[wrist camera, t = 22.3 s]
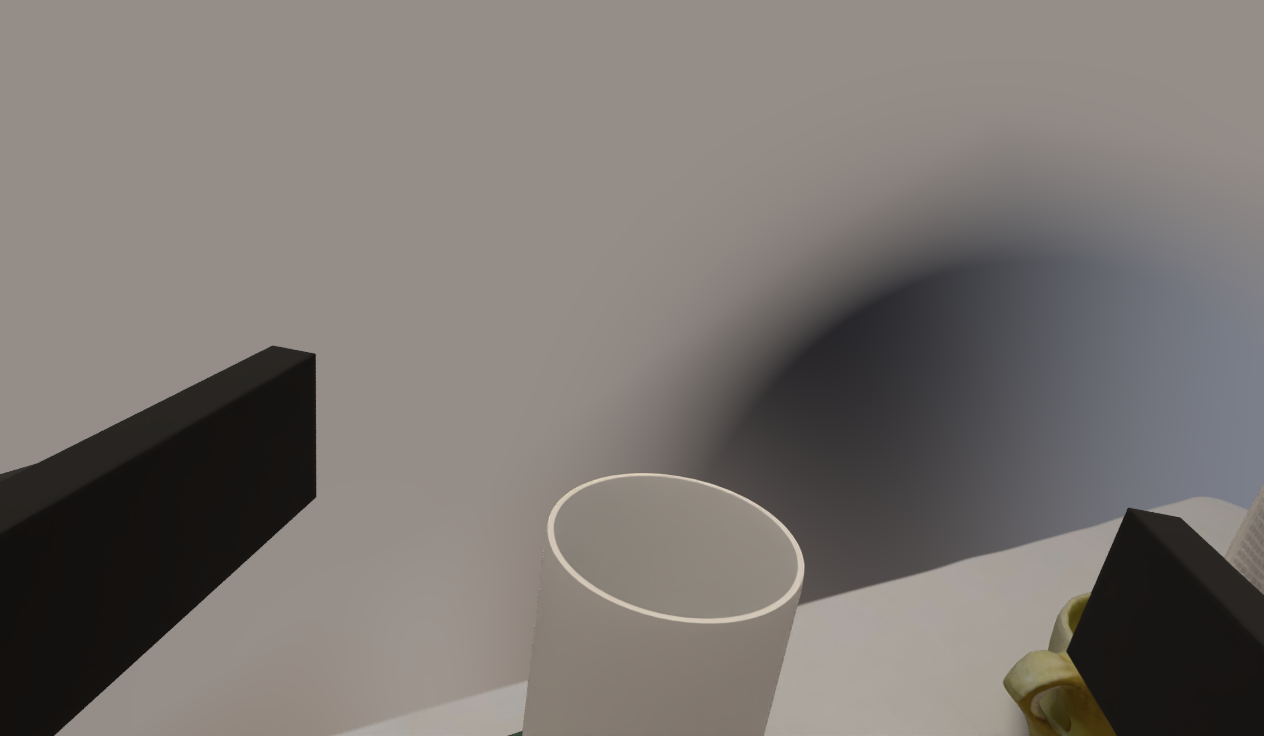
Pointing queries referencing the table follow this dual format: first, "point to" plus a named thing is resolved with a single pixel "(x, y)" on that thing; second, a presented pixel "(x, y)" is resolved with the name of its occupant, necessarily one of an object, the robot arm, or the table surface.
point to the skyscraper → (1250, 545)
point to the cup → (660, 611)
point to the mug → (1057, 685)
